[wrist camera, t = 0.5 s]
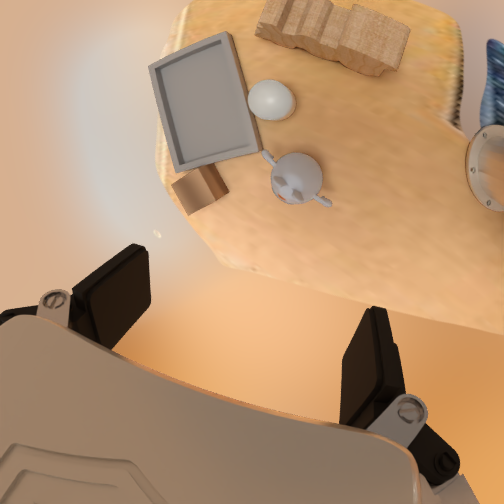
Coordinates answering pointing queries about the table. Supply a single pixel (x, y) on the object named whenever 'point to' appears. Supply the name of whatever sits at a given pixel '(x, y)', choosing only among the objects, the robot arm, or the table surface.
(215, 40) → the tray
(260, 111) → the pale grey egg shape
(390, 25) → the stepped wooden block
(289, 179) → the toy figure
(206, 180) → the walnut cube
